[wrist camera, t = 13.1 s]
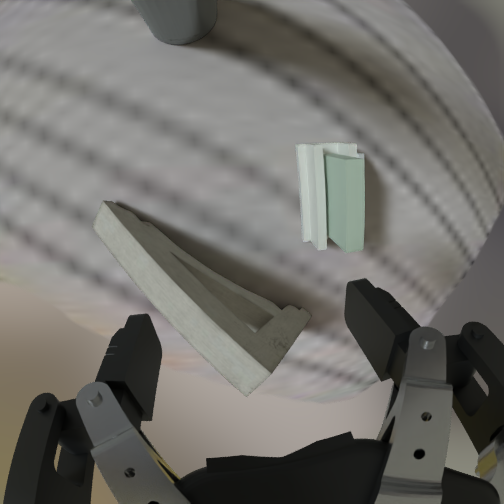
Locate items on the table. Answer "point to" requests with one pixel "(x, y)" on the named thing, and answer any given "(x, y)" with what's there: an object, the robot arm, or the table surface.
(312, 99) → the table surface
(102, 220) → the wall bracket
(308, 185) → the rail
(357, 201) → the tapered block
